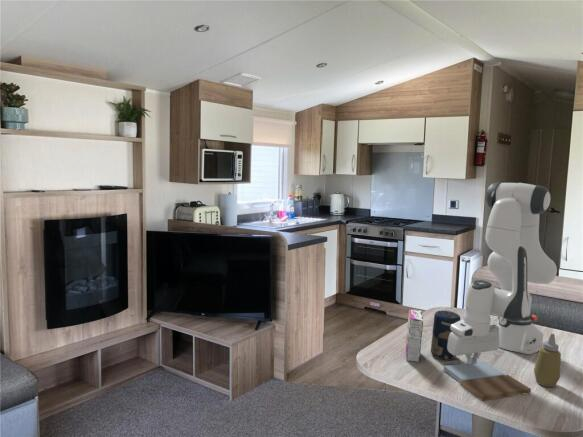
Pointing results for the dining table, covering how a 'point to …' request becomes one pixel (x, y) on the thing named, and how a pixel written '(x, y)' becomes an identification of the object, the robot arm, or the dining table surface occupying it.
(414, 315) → the candy bar box
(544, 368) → the squeeze bottle
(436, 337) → the canister
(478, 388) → the floorboard
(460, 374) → the plank
